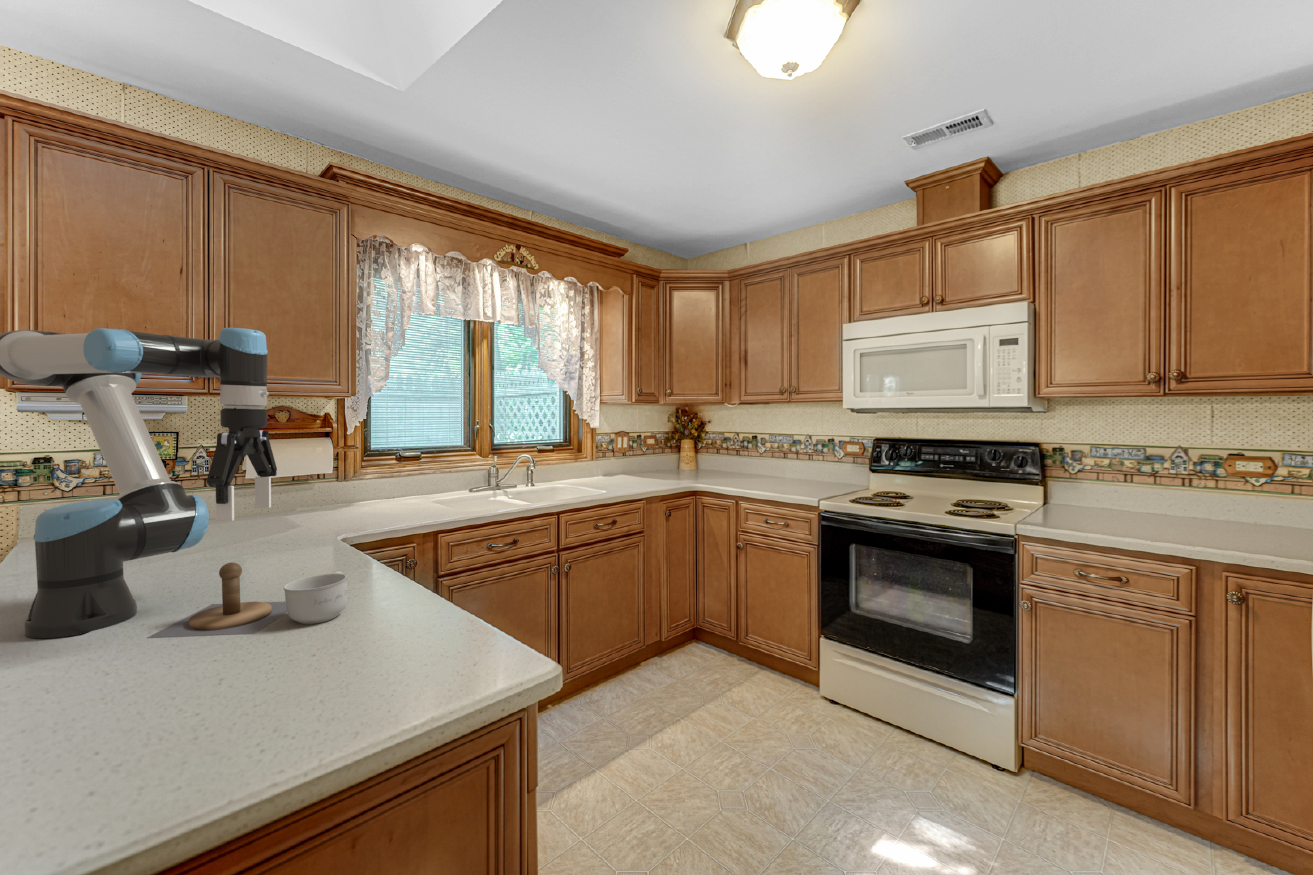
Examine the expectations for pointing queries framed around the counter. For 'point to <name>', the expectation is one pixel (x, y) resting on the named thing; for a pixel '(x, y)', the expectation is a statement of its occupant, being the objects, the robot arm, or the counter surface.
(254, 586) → the counter surface
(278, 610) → the mat
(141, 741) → the counter surface
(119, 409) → the robot arm
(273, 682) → the counter surface
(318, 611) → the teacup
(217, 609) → the lid
